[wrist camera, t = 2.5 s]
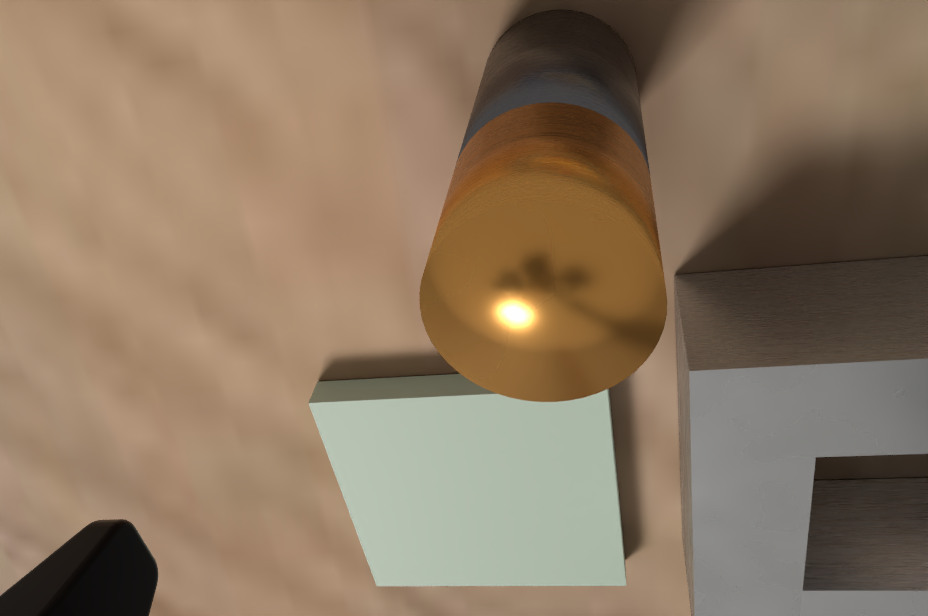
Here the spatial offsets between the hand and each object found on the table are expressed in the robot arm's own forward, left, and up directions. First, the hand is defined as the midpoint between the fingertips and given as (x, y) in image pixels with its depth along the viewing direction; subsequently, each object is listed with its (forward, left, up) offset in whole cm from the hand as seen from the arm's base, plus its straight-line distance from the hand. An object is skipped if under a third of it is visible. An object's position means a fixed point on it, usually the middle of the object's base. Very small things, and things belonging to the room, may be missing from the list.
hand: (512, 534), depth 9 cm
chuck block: (-8, +11, -13) cm, 19 cm away
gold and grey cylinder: (0, 0, -13) cm, 13 cm away
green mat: (+4, +13, -13) cm, 19 cm away
